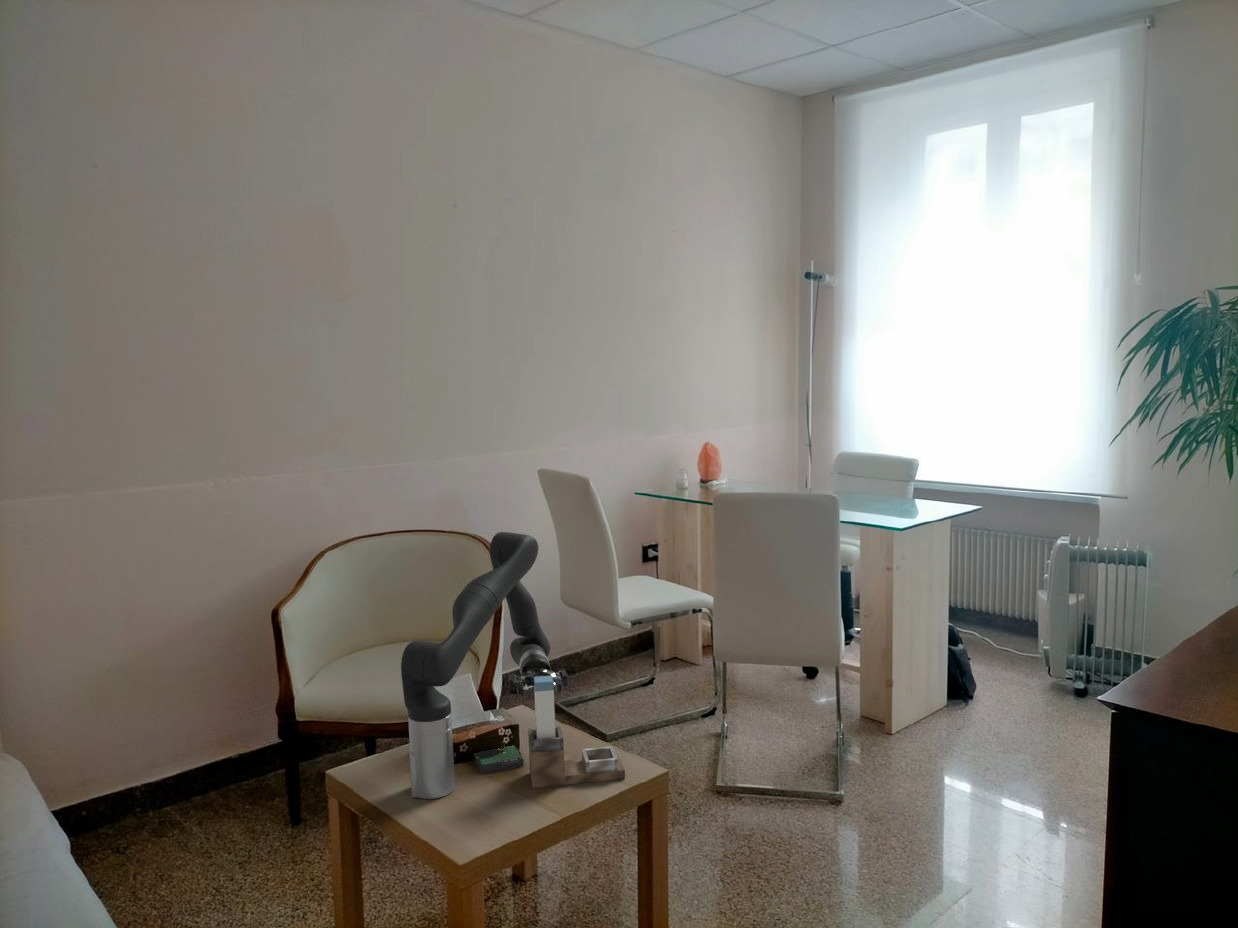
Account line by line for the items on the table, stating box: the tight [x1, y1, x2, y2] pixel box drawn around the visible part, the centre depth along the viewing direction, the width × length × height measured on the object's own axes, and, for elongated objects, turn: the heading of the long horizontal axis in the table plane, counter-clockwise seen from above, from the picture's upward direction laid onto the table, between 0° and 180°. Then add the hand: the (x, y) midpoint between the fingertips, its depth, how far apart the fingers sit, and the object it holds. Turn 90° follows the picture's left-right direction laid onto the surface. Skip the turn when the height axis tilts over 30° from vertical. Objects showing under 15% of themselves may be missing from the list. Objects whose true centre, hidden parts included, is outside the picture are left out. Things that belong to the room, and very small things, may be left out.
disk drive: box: [474, 744, 525, 775], centre depth 221 cm, size 10×3×15 cm
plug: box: [533, 675, 556, 739], centre depth 208 cm, size 4×4×15 cm
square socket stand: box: [527, 725, 626, 789], centre depth 210 cm, size 21×8×10 cm, turn 100°
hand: (540, 690), depth 219 cm, fingers open, 8 cm apart
